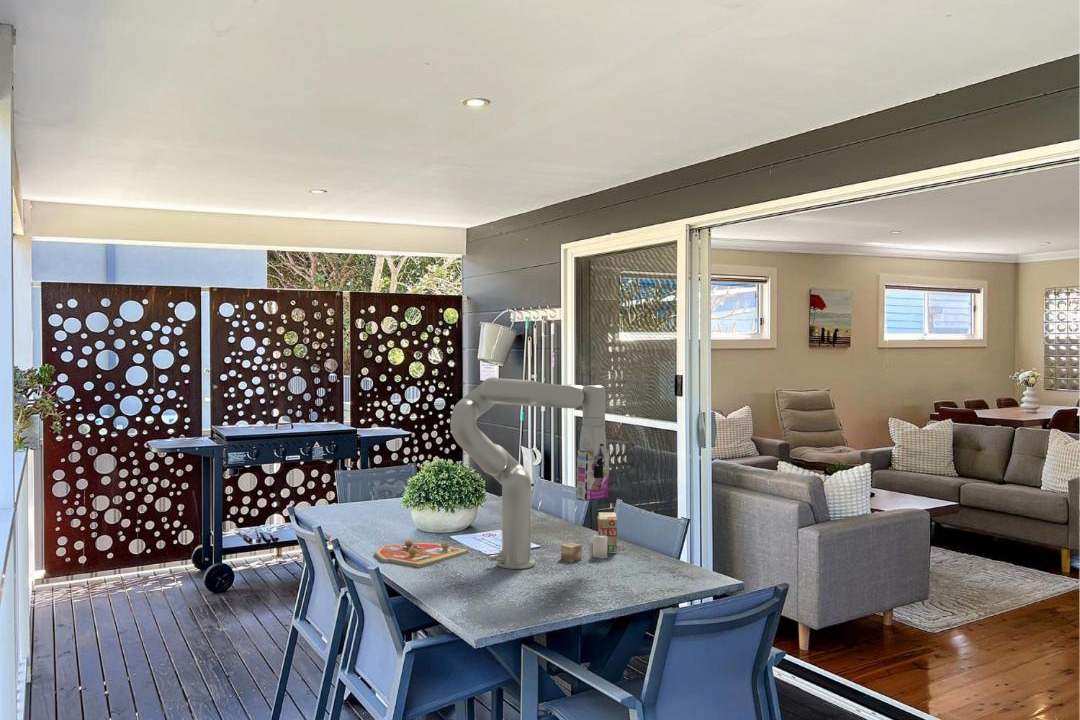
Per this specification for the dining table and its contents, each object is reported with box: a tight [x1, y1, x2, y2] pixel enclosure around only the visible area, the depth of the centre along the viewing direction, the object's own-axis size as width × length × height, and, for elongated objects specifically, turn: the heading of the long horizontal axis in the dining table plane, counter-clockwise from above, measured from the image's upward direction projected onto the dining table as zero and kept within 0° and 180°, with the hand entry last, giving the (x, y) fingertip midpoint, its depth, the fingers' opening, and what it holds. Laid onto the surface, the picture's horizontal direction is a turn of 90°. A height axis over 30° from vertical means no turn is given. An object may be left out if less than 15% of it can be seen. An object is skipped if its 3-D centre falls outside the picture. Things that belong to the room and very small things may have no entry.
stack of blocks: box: [597, 511, 618, 552], centre depth 312 cm, size 21×6×12 cm, turn 178°
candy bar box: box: [575, 448, 611, 502], centre depth 285 cm, size 11×5×16 cm, turn 132°
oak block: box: [560, 542, 583, 562], centre depth 292 cm, size 5×5×5 cm
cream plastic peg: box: [592, 534, 608, 558], centre depth 297 cm, size 5×5×7 cm
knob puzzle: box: [375, 539, 470, 569], centre depth 299 cm, size 29×30×4 cm
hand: (593, 476), depth 285 cm, fingers closed on candy bar box, 5 cm apart
